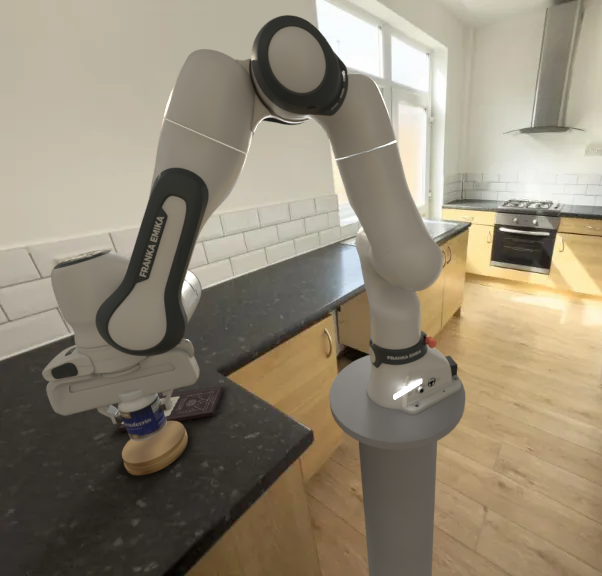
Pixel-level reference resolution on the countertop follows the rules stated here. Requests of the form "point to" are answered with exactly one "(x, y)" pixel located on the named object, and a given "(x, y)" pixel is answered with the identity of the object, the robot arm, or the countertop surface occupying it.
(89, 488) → the countertop surface
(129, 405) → the pill bottle
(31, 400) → the countertop surface
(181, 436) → the coaster pile
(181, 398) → the chocolate bar
